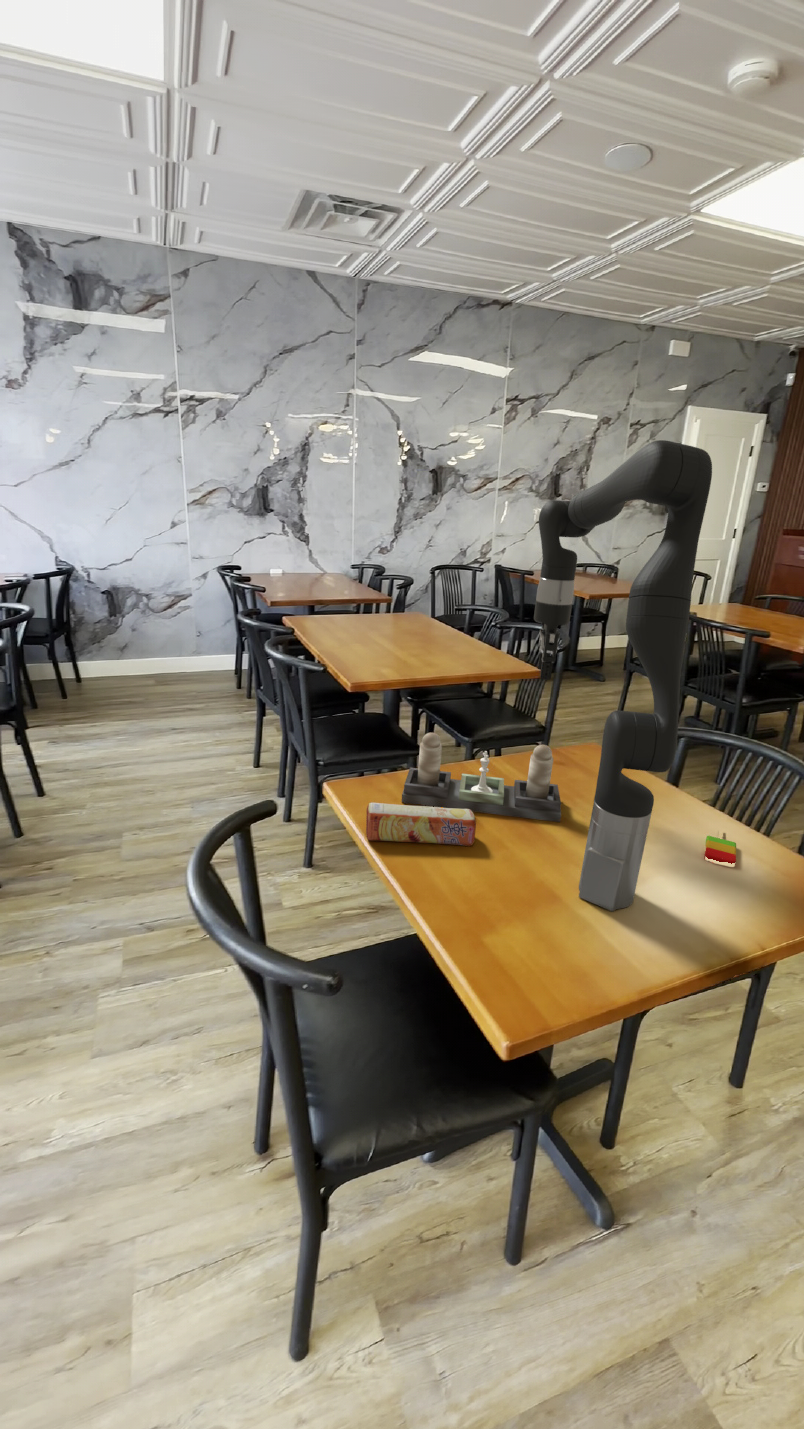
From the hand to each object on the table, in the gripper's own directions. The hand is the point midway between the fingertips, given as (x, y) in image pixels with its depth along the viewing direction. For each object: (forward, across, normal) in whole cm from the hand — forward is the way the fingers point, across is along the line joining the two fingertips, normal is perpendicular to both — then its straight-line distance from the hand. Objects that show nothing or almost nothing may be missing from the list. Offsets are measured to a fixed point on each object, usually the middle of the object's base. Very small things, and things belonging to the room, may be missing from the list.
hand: (544, 674), depth 143 cm
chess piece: (+26, -9, +11) cm, 30 cm away
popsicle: (+29, -17, -38) cm, 51 cm away
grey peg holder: (+28, -9, +11) cm, 31 cm away
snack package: (+29, -28, +22) cm, 46 cm away
